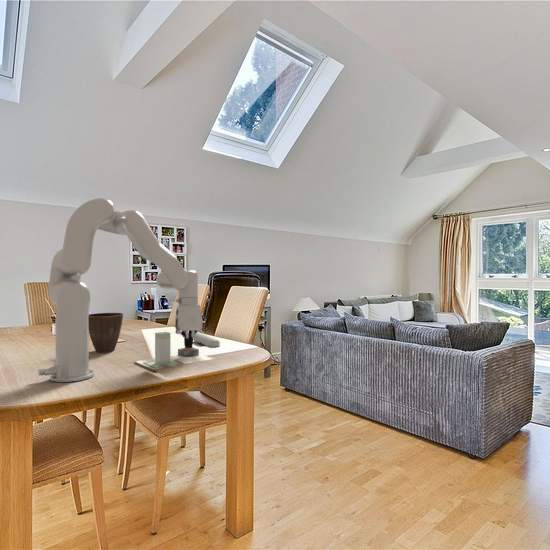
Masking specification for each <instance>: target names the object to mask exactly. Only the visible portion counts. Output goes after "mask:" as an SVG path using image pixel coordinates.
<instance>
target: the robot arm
mask: <svg viewBox="0 0 550 550" xmlns="http://www.w3.org/2000/svg"><path fill="white" fill-rule="evenodd" d="M66 224H67V225H66V228H65V234H64V238H63V245H62V249H60V250H58V251H57V252H56V253H55V255H54V256H53V258H52V261H51V267H50V273H49V282H48V299H49V300H50V302H51V303H52V304H53V305H54V306H56V310H55V322H54V328H55V336H54V337H55V363H53V364H52V366H50V367H48V368H41V369H37V370H38V372H37V374H38V376H49V380H50V381H51V382H54V381H55V383H72V381H73V382H79V381H83V380H86V379H90V378H92V377H93V376H94V374H95V371H94V370H92V369H90V364H89V362H90V357H89V355H90V354H89V353H90V349H89V344H90V341H89V340H90V339H89V338H90V334H89V328H88V319H89V314H90V307H91V306H90V305H91V291H90V289H89V288H88V286H87V285H86V283H84V282H82V281H81V279H82V275H85V274H86V273H88V271H90V268H91V264H92V256H93V255H92V254H93V248H94V247H93V246H94V239H95V235H96V232H97V230H101V231H104V232H108V233H111V234H116V235H120V236H126V237H127V238H128V240H129V241H130V243H131V244H132V245H133V246H134V248H135V250H136V251H137V253H138V254H139V255H140V257H142V258H143V259H145V260H146V261H149V262H151V263H152V264H154V265H156V266H157V267H158V268H159V269H160V270H161V272H160V273H159V274H158V275H157V277H156V283H157V285H158V286H159V287H160V288H161V289H163V290H172V291H178V297H177V299H175V303H176V304H177V306H176V310H175V318H174V319H175V320H174V327H175V334H178V335H181V336H182V337H183V340H184V341H183V342H184V343H183V345H184V347H186V348H192V347H193V344H194V341H193V337H194V335H195V334H196V333H197V332H200V333H201V331H202V329H203V313H202V308H201V304H199V290H198V288H199V287H198V286H199V280H198V278H199V276H198V272H197V271H196V270H185V267H183V265H182V263H181V262H180V261H179V259H178V258H177V257H176V256H175V255H174V254H173V253H172V252H171V251H170V250H169V249H168V248H166V247H165V246H164V245H163V244H162V243H161V242H160V241H159V239H158V238H157V236H156V234H155V233H154V231H153V230H152V228H151V226H150V225H149V224H148V222H147V220H146V219H145V217H144V216H143V214H142V213H141V212H139V211H137V210H135V209H128V210H125V211H119V210H116V208H115V205H114V204H113V202H112V201H111V200H109V199H107V198H103V197H97V198H92V199H90V200H88V201H86V202H84V203H82V204H81V205H80V206H78V207H77V208H76V209H75V210H74V211H73V213H72V214H71V216H70V218H69V220H68V222H67V223H66Z"/></svg>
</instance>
